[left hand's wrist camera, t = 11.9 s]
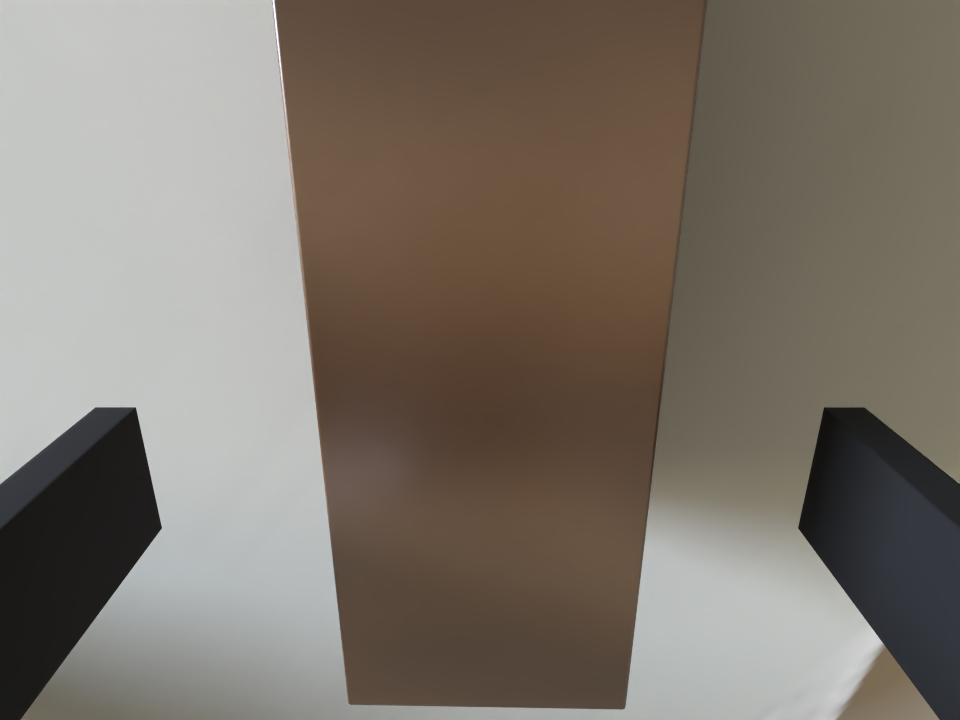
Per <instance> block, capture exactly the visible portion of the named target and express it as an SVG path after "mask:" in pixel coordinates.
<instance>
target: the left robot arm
mask: <svg viewBox="0 0 960 720" xmlns="http://www.w3.org/2000/svg"><path fill="white" fill-rule="evenodd" d="M161 529H162V527H161V522H160V518H159V513H158V508H157V504H156V499H155V494H154V490H153V485H152V480H151V476H150V471H149V467H148V462H147V457H146V453H145V448H144V443H143V439H142V434H141V429H140V425H139V420H138V416H137V411H136V408H94V409H93V410H92V411H91V412H89V413H88V414H87V415H86V416H85V417H83V418H82V419H81V420H80V421H78V422H77V423H76V424H75V425H73V426H72V427H71V428H70V429H68V430H67V431H66V432H65V433H63V434H62V435H61V436H60V437H58V438H57V439H56V440H55V441H54V442H52V443H51V444H50V445H49V446H47V447H46V448H45V449H44V450H42V451H41V452H40V453H39V454H37V455H36V456H35V457H34V458H32V459H31V460H30V461H29V462H27V463H26V464H25V465H24V466H22V467H21V468H20V469H19V470H18V471H16V472H15V473H14V474H13V475H11V476H10V477H9V478H8V479H6V480H5V481H4V482H3V483H1V484H0V720H20V719H21V718H22V717H23V715H24V714H25V712H26V711H27V710H28V708H29V707H30V706H31V704H32V703H33V702H34V700H35V699H36V698H37V696H38V695H39V694H40V692H41V691H42V689H43V688H44V687H45V685H46V684H47V683H48V681H49V680H50V679H51V677H52V676H53V675H54V673H55V672H56V671H57V669H58V668H59V666H60V665H61V664H62V662H63V661H64V660H65V658H66V657H67V656H68V654H69V653H70V652H71V650H72V649H73V648H74V646H75V645H76V644H77V642H78V641H79V639H80V638H81V637H82V635H83V634H84V633H85V631H86V630H87V629H88V627H89V626H90V625H91V623H92V622H93V621H94V619H95V618H96V616H97V615H98V614H99V612H100V611H101V610H102V608H103V607H104V606H105V604H106V603H107V602H108V600H109V599H110V598H111V596H112V595H113V593H114V592H115V591H116V589H117V588H118V587H119V585H120V584H121V583H122V581H123V580H124V579H125V577H126V576H127V575H128V573H129V572H130V570H131V569H132V568H133V566H134V565H135V564H136V562H137V561H138V560H139V558H140V557H141V556H142V554H143V553H144V552H145V550H146V549H147V547H148V546H149V545H150V543H151V542H152V541H153V539H154V538H155V537H156V535H157V534H158V533H159V531H160V530H161ZM798 529H799V530H800V531H801V533H802V534H803V535H804V537H805V538H806V539H807V541H808V542H809V543H810V545H811V546H812V547H813V549H814V550H815V552H816V553H817V554H818V556H819V557H820V558H821V560H822V561H823V562H824V564H825V565H826V566H827V568H828V569H829V570H830V572H831V573H832V575H833V576H834V577H835V579H836V580H837V581H838V583H839V584H840V585H841V587H842V588H843V589H844V591H845V592H846V593H847V595H848V596H849V598H850V599H851V600H852V602H853V603H854V604H855V606H856V607H857V608H858V610H859V611H860V612H861V614H862V615H863V616H864V618H865V619H866V621H867V622H868V623H869V625H870V626H871V627H872V629H873V630H874V631H875V633H876V634H877V635H878V637H879V638H880V639H881V641H882V642H883V644H884V645H885V646H886V648H887V649H888V650H889V652H890V653H891V654H892V656H893V657H894V658H895V660H896V661H897V662H898V664H899V665H900V666H901V668H902V669H903V671H904V672H905V673H906V675H907V676H908V677H909V679H910V680H911V681H912V683H913V684H914V685H915V687H916V688H917V689H918V691H919V692H920V694H921V695H922V696H923V698H924V699H925V700H926V702H927V703H928V704H929V706H930V707H931V708H932V710H933V711H934V712H935V714H936V715H937V717H938V718H939V719H940V720H960V484H959V483H957V482H956V481H955V480H954V479H952V478H951V477H950V476H949V475H947V474H946V473H945V472H944V471H942V470H941V469H940V468H939V467H938V466H936V465H935V464H934V463H933V462H931V461H930V460H929V459H928V458H926V457H925V456H924V455H923V454H921V453H920V452H919V451H918V450H916V449H915V448H914V447H913V446H911V445H910V444H909V443H908V442H906V441H905V440H904V439H903V438H902V437H900V436H899V435H898V434H897V433H895V432H894V431H893V430H892V429H890V428H889V427H888V426H887V425H885V424H884V423H883V422H882V421H880V420H879V419H878V418H877V417H875V416H874V415H873V414H872V413H871V412H869V411H868V410H867V409H866V408H824V411H823V416H822V420H821V425H820V429H819V434H818V439H817V443H816V448H815V453H814V457H813V462H812V467H811V471H810V476H809V480H808V485H807V490H806V494H805V499H804V504H803V508H802V513H801V518H800V522H799V527H798Z"/></svg>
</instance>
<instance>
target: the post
mask: <svg viewBox="0 0 960 720" xmlns="http://www.w3.org/2000/svg"><path fill="white" fill-rule="evenodd" d="M272 6H273V15H274V24H275V33H276V42H277V52H278V61H279V70H280V79H281V88H282V98H283V107H284V116H285V125H286V134H287V144H288V153H289V162H290V171H291V180H292V189H293V199H294V208H295V217H296V226H297V235H298V245H299V254H300V263H301V272H302V281H303V291H304V300H305V309H306V318H307V327H308V336H309V346H310V355H311V364H312V373H313V382H314V392H315V401H316V410H317V419H318V428H319V437H320V447H321V456H322V465H323V474H324V483H325V493H326V502H327V511H328V520H329V529H330V539H331V548H332V557H333V566H334V575H335V584H336V594H337V603H338V612H339V621H340V630H341V640H342V649H343V658H344V667H345V676H346V686H347V695H348V702H349V704H351V705H402V706H459V707H517V708H574V709H624V708H625V706H626V698H627V689H628V680H629V672H630V663H631V655H632V646H633V637H634V629H635V620H636V611H637V603H638V594H639V586H640V577H641V568H642V560H643V551H644V543H645V534H646V525H647V517H648V508H649V499H650V491H651V482H652V474H653V465H654V456H655V448H656V439H657V431H658V422H659V413H660V405H661V396H662V387H663V379H664V370H665V362H666V353H667V344H668V336H669V327H670V319H671V310H672V301H673V293H674V284H675V275H676V267H677V258H678V250H679V241H680V232H681V224H682V215H683V207H684V198H685V189H686V181H687V172H688V163H689V155H690V146H691V138H692V129H693V120H694V112H695V103H696V95H697V86H698V77H699V69H700V60H701V51H702V43H703V34H704V26H705V17H706V8H707V0H272Z"/></svg>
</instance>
